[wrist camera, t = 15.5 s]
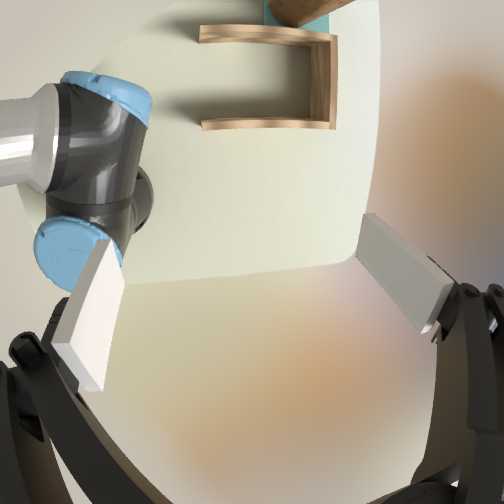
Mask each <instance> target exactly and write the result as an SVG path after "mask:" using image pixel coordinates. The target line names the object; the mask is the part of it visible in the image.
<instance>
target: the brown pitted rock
mask: <svg viewBox="0 0 504 504" xmlns="http://www.w3.org/2000/svg"><path fill="white" fill-rule="evenodd" d="M353 1H355V0H270V1H269V3H268V7H269V9H270V10H271V12H272V14H273V15H274V16H275V17H276V19H277V20H278V21H279V22H281V23H282V24H286V25H287V26H289V27H291V28H298V27H301V26H303V25H305V24H307V23H309V22H312V21H314V20H316V19H317V18H319V17H322V16H324V15H326V14H328V13H330V12H332V11H334V10H336V9H338V8H340V7H343V6H344V5H347V4H349V3H350V2H353Z"/></svg>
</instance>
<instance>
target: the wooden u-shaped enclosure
mask: <svg viewBox="0 0 504 504" xmlns="http://www.w3.org/2000/svg"><path fill="white" fill-rule="evenodd" d="M221 42H249V43H271V44H284V45H294V46H303V47H310V48H311V94H310V118H301V117H233V118H215V119H201V128H202V131H205V130H219V129H237V128H313V129H331V130H336V115H337V82H338V45H337V35H332V34H327V33H321V32H316V31H309V30H303V29H295V28H287V27H277V26H264V25H239V24H223V25H200V31H199V43H221Z"/></svg>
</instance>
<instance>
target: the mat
mask: <svg viewBox="0 0 504 504" xmlns="http://www.w3.org/2000/svg"><path fill="white" fill-rule="evenodd" d="M269 1H270V0H264V26H277V27H287V28H291V27H289V26H287V25H286V24H282V23H281V22H279V21H278V20H277V19H276V17H275V16H274V15H273V14H272V12H271V10H270V9H269V7H268V3H269ZM295 29H303V30H309V31H316V32H321V33H327V34H329V14H326V15H324V16H322V17H319V18H317V19H316V20H314V21H312V22H309V23H307V24H305V25H303V26H301V27H298V28H295Z"/></svg>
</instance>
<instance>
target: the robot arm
mask: <svg viewBox="0 0 504 504" xmlns="http://www.w3.org/2000/svg"><path fill="white" fill-rule="evenodd" d="M151 106H152V98H151V96H150V94H149V92H148V91H147V90H146V89H144V88H143V87H141V86H138V85H136V84H134V83H131V82H128V81H125V80H121V79H118V78H114V77H110V76H106V75H98V74H93V73H89V72H82V71H69V72H66V73H65V74H64V76H63V77H62V78H61V80H60V84H51V83H50V84H46V85H44V86H43V87H42V88H41V89H40V90H39V91H38V92H36V94H34V95H33V96H32V97H31V98H24V99H10V100H0V187H2V186H6V185H11V184H16V183H21V182H24V183H27V184H28V185H29V186H30V187H31V188H32V189H33V190H34V191H35V192H36V193H46V220H45V221H44V222H43V223H42V224H41V225H40V227H39V228H38V230H37V233H36V236H35V239H34V254H35V258H36V261H37V263H38V265H39V267H40V269H41V270H42V271H43V273H44V274H45V276H46V277H47V278H49V279H51V280H52V281H53V283H54V284H55V285H57V286H58V287H60V288H62V289H64V290H66V291H68V292H71V295H70V297H65V298H62V299H61V301H60V302H59V303H58V304H57V305H56V307H55V309H54V311H53V313H52V317H51V318H50V320H49V324H48V325H47V328H46V330H45V332H44V334H43V337H42V339H41V342H40V341H39V339H38V337H37V336H36V335H35V333H33V332H30V331H29V332H23V333H21V334H19V335H18V336H17V337H16V338H14V340H13V341H12V343H11V344H10V347H9V356H10V357H11V358H12V360H13V361H14V362H15V364H16V365H17V367H13V368H8V367H7V366H6V365H5V364H4V362H2V361H0V504H73V502H72V499H71V497H70V495H69V492H68V490H67V488H66V485H65V483H64V480H63V478H62V475H61V472H60V469H59V466H58V463H57V461H56V458H55V454H54V451H53V448H52V444H51V441H50V438H51V440H52V442H53V444H54V446H55V448H56V449H57V451H58V453H59V455H60V457H61V458H62V460H63V461H64V463H65V465H66V466H67V468H68V469H69V471H70V473H71V474H72V476H73V477H74V479H75V480H76V482H77V483H78V485H79V486H80V487H81V489H82V490H83V492H84V493H85V494H86V496H87V497H88V498H89V500H90V501H91V502H92V504H173V503H172V502H171V501H169V500H168V499H167V498H166V497H165V496H164V495H163V494H162V493H161V492H160V491H159V490H158V489H157V488H156V487H155V486H153V485H152V484H151V483H150V482H149V481H148V479H147V478H146V477H145V476H144V475H143V474H142V473H141V472H140V471H139V470H138V469H137V468H136V467H135V466H134V465H133V463H132V462H131V461H130V460H129V459H128V458H127V457H126V456H125V454H124V453H123V452H122V451H121V450H120V449H119V447H118V446H117V445H116V444H115V442H114V441H113V440H112V439H111V437H110V436H109V435H108V433H107V432H106V431H105V429H104V428H103V427H102V425H101V424H100V423H99V421H98V420H97V418H96V417H95V416H94V414H93V413H92V411H91V410H90V408H89V407H88V405H87V404H86V402H85V401H84V399H83V398H82V396H81V395H80V393H78V386H79V383H80V384H81V386H82V387H83V388H84V389H85V390H86V391H100V392H103V388H104V381H105V374H106V368H107V362H108V357H109V352H110V346H111V341H112V336H113V331H114V327H115V322H116V318H117V314H118V310H119V305H120V301H121V297H122V293H123V290H124V286H125V283H124V279H123V276H122V273H121V270H120V269H121V267H122V260H123V257H124V254H125V251H126V248H127V246H128V243H129V240H130V238H131V235H133V234H134V233H136V232H137V231H138V230H139V229H140V228H141V227H142V226H143V225H144V224H145V222H146V221H147V219H148V217H149V215H150V212H151V209H152V206H153V188H152V185H151V182H150V180H149V178H148V176H147V174H146V173H145V172H144V171H143V169H142V168H141V167H139V161H140V156H141V151H142V147H143V142H144V138H145V134H146V130H147V129H148V128H149V123H148V120H149V115H150V110H151ZM355 257H356V258H357V259H358V260H359V261H360V262H361V263H362V265H364V267H365V268H366V269H367V270H368V271H369V272H370V274H371V275H372V276H373V277H374V278H375V279H376V281H377V282H378V283H379V284H380V285H381V286H382V288H383V289H384V290H385V291H386V292H387V294H388V295H389V296H390V297H391V298H392V299H393V301H394V302H395V303H396V304H397V306H398V307H399V308H400V309H401V311H402V312H403V313H404V314H405V316H406V317H407V318H408V319H409V321H410V322H411V323H412V324H413V326H414V327H415V328H416V329H417V331H418V332H419V333H420V334H422V333H425V332H427V331H430V330H431V329H432V327H433V326H434V324H435V322H436V320H437V321H438V322H439V323H440V325H439V327H438V329H437V331H436V333H435V334H434V336H433V338H432V341H431V342H432V343H433V341H434V340H435V338H437V342H436V344H437V367H436V381H435V392H434V401H433V409H432V416H431V423H430V429H429V434H428V440H427V445H426V449H425V454H424V458H423V460H422V462H421V464H420V465H419V466H418V468H417V469H416V471H415V473H414V475H413V478H412V480H411V483H410V485H408V486H406V487H404V488H401V489H399V490H397V491H395V492H392V493H390V494H387V495H385V496H383V497H381V498H378V499H376V500H374V501H372V502H370V503H367V504H504V289H503V288H502V287H501V286H499V285H497V284H490V285H489V287H488V289H487V291H486V293H485V292H484V293H482V292H480V291H479V290H478V289H477V288H475V287H474V286H473V285H470V284H468V283H462V284H460V285H459V284H458V283H457V282H456V281H455V280H454V279H453V278H452V277H451V276H450V275H449V274H448V273H447V272H446V271H445V270H443V269H441V267H440V266H439V265H438V264H436V262H435V261H433V260H432V259H431V258H430V257H428V256H427V255H425V254H424V253H422V252H421V251H420V250H419V249H418V248H417V247H415V246H414V245H413V244H412V243H411V242H409V241H408V240H407V239H406V238H405V237H403V236H402V235H401V234H400V233H399V232H397V231H396V230H395V229H394V228H392V227H391V226H390V225H389V224H387V223H386V222H385V221H383V220H382V219H381V218H380V217H378V216H377V215H376V214H375V213H369V214H363V218H362V224H361V229H360V235H359V240H358V245H357V250H356V255H355ZM495 321H497V323H498V326H497V327H496V329H495V331H494V332H493V333H492V331H491V328H492V326H493V324H494V323H495ZM458 480H459V481H458ZM455 481H458V486H457V487H455V486H452V485H451V484H452V483H453V482H455ZM502 495H503V497H502ZM501 499H502V500H501Z"/></svg>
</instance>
